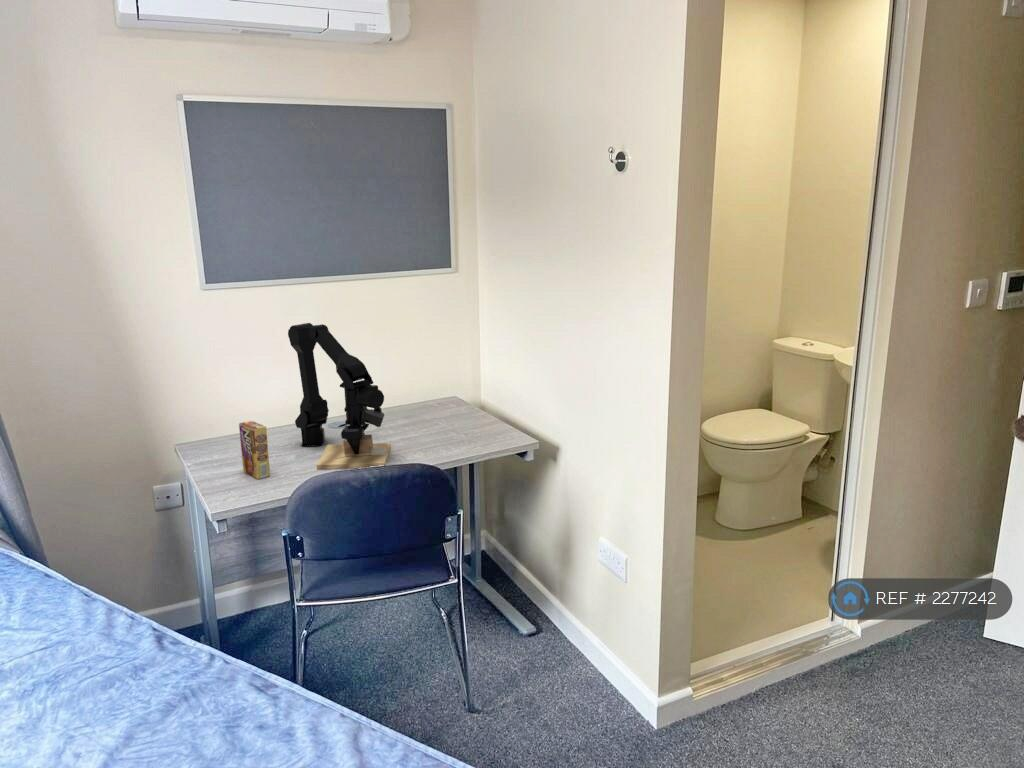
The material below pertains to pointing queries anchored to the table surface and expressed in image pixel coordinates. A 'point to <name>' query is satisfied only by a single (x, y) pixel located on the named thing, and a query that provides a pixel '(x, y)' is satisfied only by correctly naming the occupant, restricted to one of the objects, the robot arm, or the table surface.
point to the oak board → (350, 458)
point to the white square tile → (378, 451)
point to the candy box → (254, 449)
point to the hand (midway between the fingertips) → (358, 451)
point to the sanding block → (364, 448)
